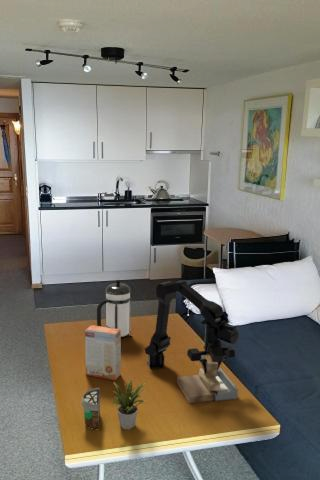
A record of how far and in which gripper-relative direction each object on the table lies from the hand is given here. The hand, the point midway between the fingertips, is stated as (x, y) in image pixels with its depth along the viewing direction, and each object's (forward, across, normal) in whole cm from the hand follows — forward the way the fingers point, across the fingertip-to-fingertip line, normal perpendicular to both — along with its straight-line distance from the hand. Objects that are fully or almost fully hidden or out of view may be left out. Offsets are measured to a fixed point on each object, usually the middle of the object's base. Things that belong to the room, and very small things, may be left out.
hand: (210, 372), depth 184 cm
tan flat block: (+7, -6, 0) cm, 10 cm away
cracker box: (+8, -40, +21) cm, 46 cm away
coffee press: (+8, -28, +60) cm, 67 cm away
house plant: (+8, -36, -18) cm, 41 cm away
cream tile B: (+7, +3, +3) cm, 8 cm away
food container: (+8, -49, -12) cm, 51 cm away
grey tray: (+7, +4, 0) cm, 8 cm away
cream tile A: (+7, +3, -3) cm, 8 cm away
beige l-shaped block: (+4, -1, 0) cm, 4 cm away
